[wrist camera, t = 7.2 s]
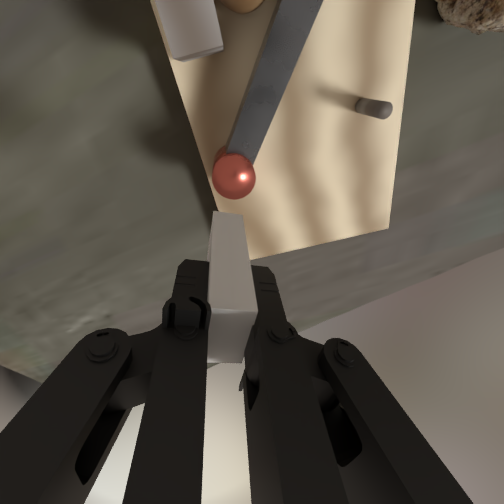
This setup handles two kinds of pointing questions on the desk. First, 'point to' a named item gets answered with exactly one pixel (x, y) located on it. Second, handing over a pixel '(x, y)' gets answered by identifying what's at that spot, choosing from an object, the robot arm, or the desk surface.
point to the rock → (473, 14)
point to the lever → (263, 95)
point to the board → (299, 113)
